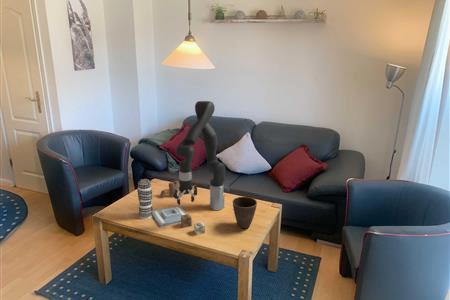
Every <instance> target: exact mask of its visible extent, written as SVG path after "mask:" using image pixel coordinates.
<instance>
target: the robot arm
mask: <svg viewBox="0 0 450 300" xmlns="http://www.w3.org/2000/svg"><path fill="white" fill-rule="evenodd" d="M194 110H195V115H196V119H197V121H196V122H194V123H193V124H192V125H191V126H190V127H189V128H188V129H189V130H188V131H187V133H186V134H185V137H184V138H183V139H182V140H181V142H180V143H179V144H178V145H177V146H176V149H175V154H176V156H177V157H180V158H184V159H185V160H181V161H179V163H178V165H179V169H178V170H179V171H178V172H179V173H178V181H179V189H176V188H174V197H173V198H174V199H175V200H176V203H177V205H178V206H181V198H182V197H183V196H185V195H190V201H191V203H194V202H195V196H198V186H197V185H196V184H194V185H193V180H192V179H193V173H192V164H193V159H194V156H195V149H194V148H193V146H194V145H196V143H197V142H198V140H199V137H200V135H202V142H203V146H204V150H205V156H206V161H207V162H206V164H207V170H208V172H209V173H210V174H212V175H213V178H211V179H210V180H209V209H210V210H213V211H221V210H222V209H224V208H225V194H224V188H225V187H224V186H225V185H224V182H225V180H226V166H225V164H224V163H223V162H220V161H219V160H218V157H217V150H218V145H219V141H218V136H217V133H216V130H215V129H214V128H213V127H212V126H211V124H210V122H209V120H210V119H211V118H212V116H213V115H214V112H215V104H214V103H213V101H210V100H209V101H208V100H201V101H197V102H196V103H195V104H194ZM192 190H193V192H192Z"/></svg>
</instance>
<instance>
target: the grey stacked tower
mask: <svg viewBox="0 0 450 300" xmlns="http://www.w3.org/2000/svg"><path fill="white" fill-rule="evenodd" d="M151 183H152V181H151V180H149V179H147V178H142V179H140V180H139V181H138V182H137V184H138V185H137V186H138V187H137V191H136V192H137V197H138V202H139V203H138V205H139V206H138V211H139V212H138V215H139V219H143V220H147V219H151V218H152V217H153V213H152V212H153V211H154V210H153V202H152V200H153V189H152V186H151Z"/></svg>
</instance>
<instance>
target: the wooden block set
mask: <svg viewBox="0 0 450 300" xmlns="http://www.w3.org/2000/svg"><path fill="white" fill-rule="evenodd" d="M174 188H176V189H179V180H174V181H171V182H169V183H168V191H169V192H168V193H169V197H171V198H174ZM165 196H166V190H161V191H160V194H159V197H161V198H162V197H165Z"/></svg>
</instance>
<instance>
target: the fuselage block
mask: <svg viewBox="0 0 450 300" xmlns="http://www.w3.org/2000/svg"><path fill="white" fill-rule="evenodd" d="M192 222H193V221H192V216H191V215H190V214H189V213H187V214H186V215H182V216H181V222H180V224H181V226H182V227H183V228H185V229H186V228H189V227H192V226H193V225H192V224H193V223H192Z"/></svg>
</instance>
